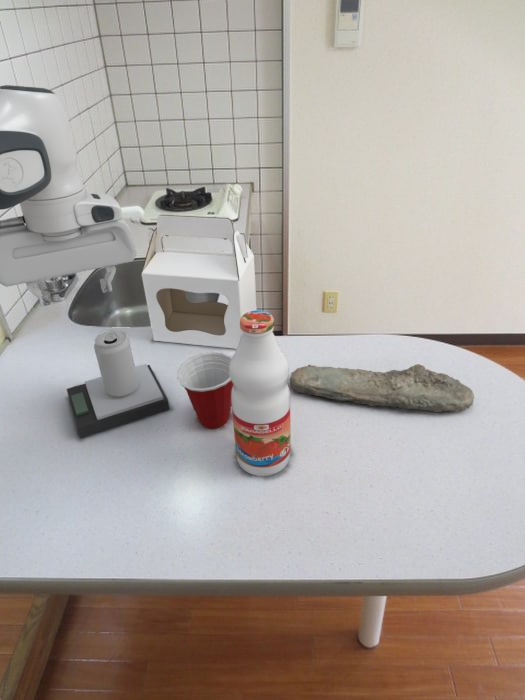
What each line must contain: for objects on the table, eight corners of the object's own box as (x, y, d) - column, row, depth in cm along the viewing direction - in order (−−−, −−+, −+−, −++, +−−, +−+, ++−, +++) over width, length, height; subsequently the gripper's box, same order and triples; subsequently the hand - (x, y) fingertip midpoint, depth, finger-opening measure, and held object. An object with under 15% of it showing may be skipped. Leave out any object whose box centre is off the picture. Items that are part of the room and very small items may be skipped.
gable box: (258, 319, 128) (252, 207, 112) (244, 350, 117) (237, 231, 102) (172, 312, 132) (155, 203, 116) (152, 341, 122) (130, 225, 106)
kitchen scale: (80, 438, 96) (76, 425, 94) (69, 398, 106) (65, 385, 104) (169, 409, 102) (167, 396, 100) (151, 373, 111) (148, 361, 110)
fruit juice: (291, 438, 94) (291, 302, 78) (289, 479, 86) (288, 337, 70) (239, 436, 95) (228, 301, 79) (232, 476, 87) (218, 335, 71)
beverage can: (106, 402, 99) (92, 350, 92) (105, 382, 104) (92, 331, 97) (140, 395, 100) (129, 343, 94) (137, 376, 105) (126, 325, 99)
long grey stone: (295, 373, 112) (286, 405, 104) (293, 354, 109) (284, 385, 101) (470, 385, 103) (474, 421, 96) (474, 364, 100) (478, 400, 93)
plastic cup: (179, 407, 102) (171, 357, 95) (233, 395, 105) (228, 345, 98) (190, 445, 94) (181, 393, 87) (248, 431, 96) (244, 379, 89)
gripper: (-24, 231, 68) (7, 322, 76) (131, 205, 76) (145, 291, 83) (-25, 216, 73) (4, 303, 81) (121, 194, 81) (134, 276, 88)
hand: (77, 297), depth 82 cm, fingers open, 8 cm apart
